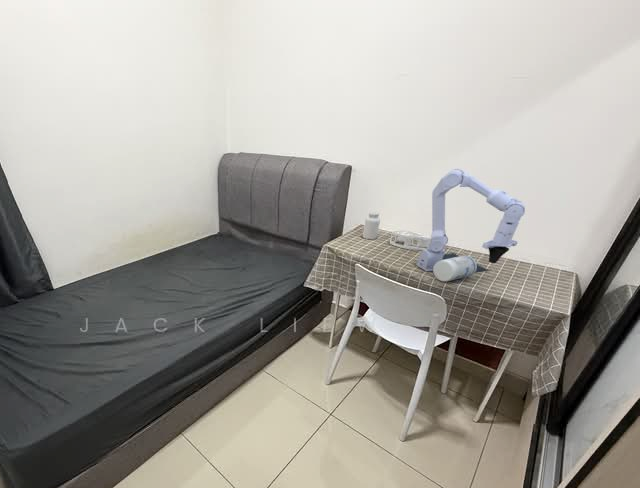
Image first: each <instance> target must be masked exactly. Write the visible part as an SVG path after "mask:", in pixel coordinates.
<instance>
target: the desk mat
mask: <svg viewBox="0 0 640 488" xmlns="http://www.w3.org/2000/svg"><path fill="white" fill-rule="evenodd" d="M459 256H460V255H457V254H455V253H446V254H445V253H444V256H443V259H442V260H445V259H450V258H454V257H459ZM484 271H488V269H487V268H485V267H482V266H480V265H479V264H477V269H476V271H475V273H476V272H484Z"/></svg>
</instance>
